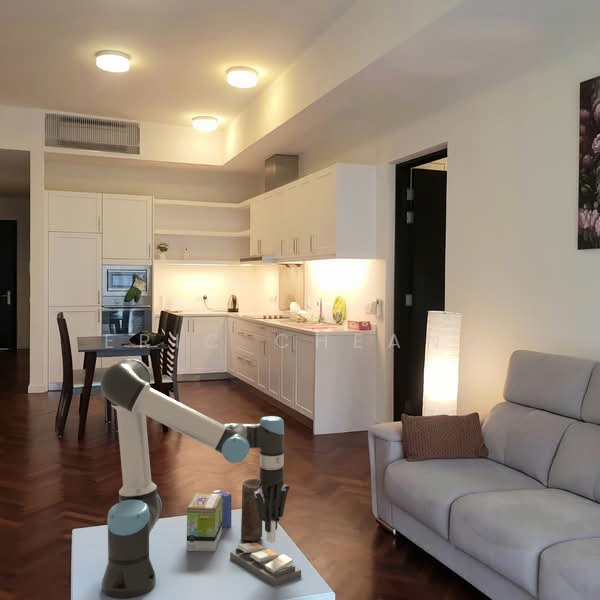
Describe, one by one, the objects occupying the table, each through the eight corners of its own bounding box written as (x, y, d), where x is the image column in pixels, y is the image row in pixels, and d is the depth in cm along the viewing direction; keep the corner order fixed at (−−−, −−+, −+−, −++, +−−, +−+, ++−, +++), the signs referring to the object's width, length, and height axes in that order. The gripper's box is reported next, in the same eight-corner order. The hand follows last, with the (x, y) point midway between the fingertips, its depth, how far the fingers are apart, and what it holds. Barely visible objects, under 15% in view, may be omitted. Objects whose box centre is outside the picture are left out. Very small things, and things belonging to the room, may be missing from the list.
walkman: (231, 526, 230) (231, 493, 230) (225, 528, 228) (225, 495, 228) (218, 520, 236) (217, 488, 235) (212, 522, 234) (212, 490, 233)
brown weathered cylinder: (265, 536, 221) (265, 479, 220) (258, 544, 214) (258, 486, 213) (245, 533, 223) (245, 477, 222) (237, 542, 216) (237, 484, 215)
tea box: (216, 552, 208) (215, 507, 208) (185, 551, 208) (185, 507, 208) (222, 533, 223) (222, 492, 223) (194, 533, 223) (194, 492, 223)
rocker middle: (259, 562, 193) (259, 558, 193) (250, 557, 197) (251, 553, 197) (277, 557, 197) (278, 553, 197) (269, 552, 201) (269, 548, 201)
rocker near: (274, 574, 187) (274, 570, 187) (265, 568, 191) (264, 564, 191) (292, 562, 192) (292, 559, 191) (283, 557, 195) (283, 553, 195)
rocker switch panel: (274, 586, 185) (274, 575, 185) (230, 558, 203) (230, 548, 203) (301, 576, 191) (301, 565, 191) (255, 549, 210) (255, 540, 210)
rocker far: (245, 552, 199) (246, 548, 199) (237, 547, 202) (238, 543, 203) (263, 551, 203) (264, 547, 203) (255, 546, 207) (255, 542, 207)
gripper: (261, 473, 191) (260, 550, 192) (295, 465, 199) (294, 539, 200) (247, 467, 197) (247, 542, 198) (281, 460, 205) (280, 532, 206)
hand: (270, 540), depth 199 cm, fingers closed
